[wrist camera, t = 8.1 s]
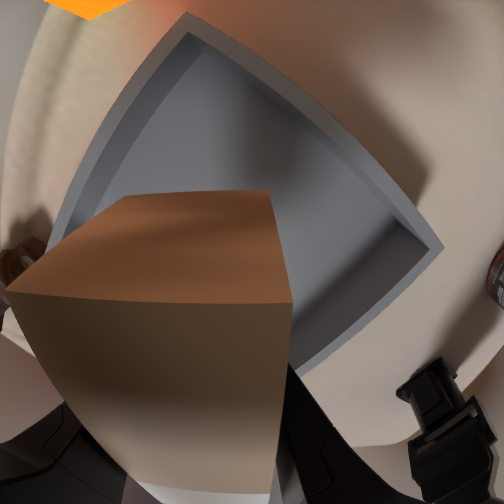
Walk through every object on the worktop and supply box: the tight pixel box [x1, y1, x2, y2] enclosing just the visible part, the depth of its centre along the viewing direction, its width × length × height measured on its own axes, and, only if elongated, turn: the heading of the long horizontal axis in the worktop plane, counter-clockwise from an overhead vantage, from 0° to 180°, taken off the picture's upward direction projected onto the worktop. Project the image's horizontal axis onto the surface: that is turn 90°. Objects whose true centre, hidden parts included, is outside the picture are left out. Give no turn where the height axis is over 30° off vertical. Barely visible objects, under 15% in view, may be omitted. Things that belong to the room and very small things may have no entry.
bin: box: [45, 11, 445, 378], centre depth 16 cm, size 18×18×4 cm
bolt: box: [0, 237, 46, 332], centre depth 18 cm, size 6×5×15 cm
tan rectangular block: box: [4, 189, 293, 504], centre depth 7 cm, size 4×10×5 cm, turn 1°
